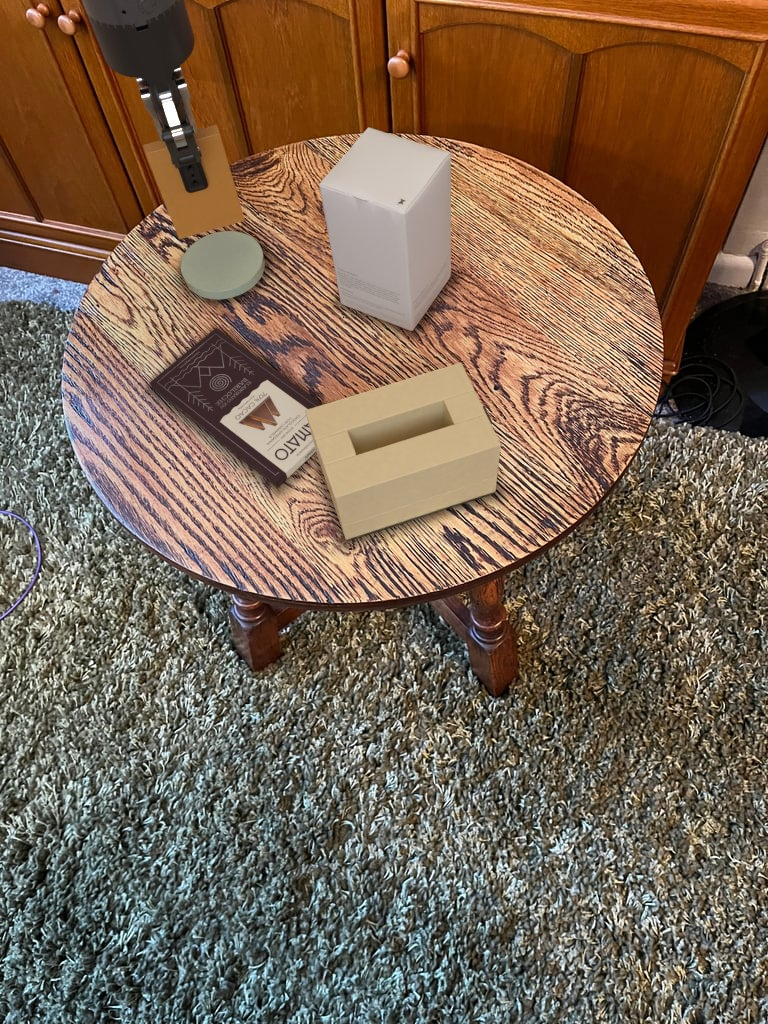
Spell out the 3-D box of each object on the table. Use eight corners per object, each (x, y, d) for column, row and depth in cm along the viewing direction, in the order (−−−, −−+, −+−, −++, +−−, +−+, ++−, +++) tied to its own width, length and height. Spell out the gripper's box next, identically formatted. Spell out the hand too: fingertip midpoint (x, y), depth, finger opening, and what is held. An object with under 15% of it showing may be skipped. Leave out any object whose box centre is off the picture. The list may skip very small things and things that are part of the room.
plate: (192, 309, 82) (189, 301, 81) (177, 252, 86) (173, 244, 85) (273, 285, 83) (271, 277, 82) (254, 230, 87) (252, 221, 86)
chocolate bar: (215, 327, 79) (343, 418, 72) (218, 334, 80) (344, 424, 73) (149, 382, 76) (275, 482, 70) (152, 388, 77) (277, 487, 70)
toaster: (346, 542, 67) (334, 497, 60) (318, 460, 72) (304, 410, 65) (504, 490, 69) (510, 441, 62) (467, 413, 73) (469, 359, 66)
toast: (179, 239, 79) (145, 153, 70) (176, 230, 79) (142, 144, 70) (245, 220, 79) (219, 133, 70) (242, 212, 80) (216, 124, 71)
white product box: (454, 275, 81) (455, 150, 68) (412, 334, 78) (405, 214, 65) (380, 248, 84) (368, 122, 71) (337, 303, 81) (315, 183, 67)
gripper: (72, -40, 62) (146, 150, 77) (95, 53, 56) (170, 240, 71) (162, -63, 63) (218, 130, 78) (195, 27, 56) (249, 217, 72)
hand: (195, 182), depth 74 cm, fingers closed on toast, 1 cm apart
